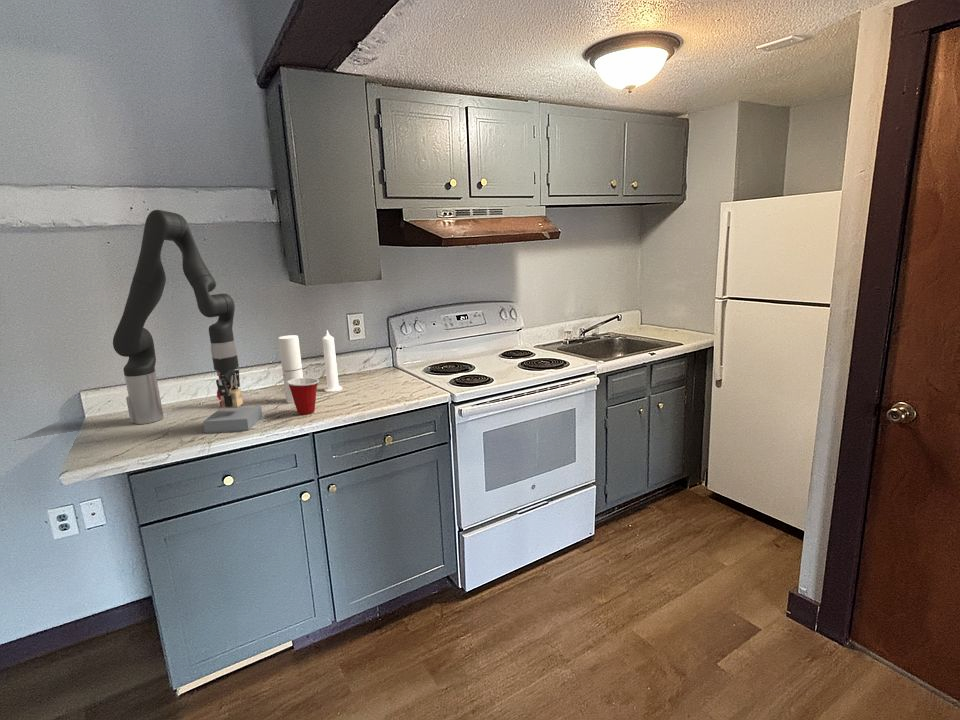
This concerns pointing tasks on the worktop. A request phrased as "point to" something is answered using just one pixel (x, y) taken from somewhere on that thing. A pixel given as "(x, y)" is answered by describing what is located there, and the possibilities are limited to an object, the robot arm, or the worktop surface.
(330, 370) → the candle
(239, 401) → the oak cube
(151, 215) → the robot arm
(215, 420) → the slate plinth
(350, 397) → the worktop surface
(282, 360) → the cylindrical container
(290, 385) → the plastic cup
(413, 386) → the worktop surface
